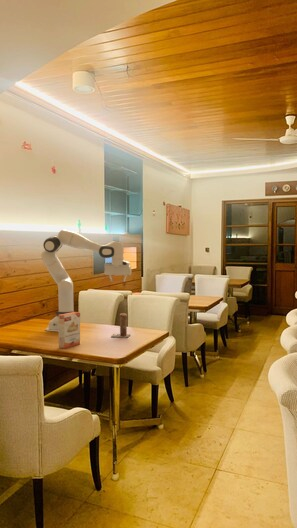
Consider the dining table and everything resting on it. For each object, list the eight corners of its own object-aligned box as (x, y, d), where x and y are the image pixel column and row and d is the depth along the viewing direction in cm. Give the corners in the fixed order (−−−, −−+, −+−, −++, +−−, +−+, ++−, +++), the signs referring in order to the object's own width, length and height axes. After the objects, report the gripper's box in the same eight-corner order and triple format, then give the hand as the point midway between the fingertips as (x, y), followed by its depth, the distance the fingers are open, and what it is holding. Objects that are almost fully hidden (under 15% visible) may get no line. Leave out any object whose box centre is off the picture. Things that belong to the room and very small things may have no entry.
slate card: (110, 337, 271) (110, 336, 271) (113, 334, 279) (113, 333, 279) (127, 338, 269) (127, 336, 269) (130, 335, 277) (130, 334, 277)
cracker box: (65, 349, 241) (64, 315, 240) (58, 347, 244) (57, 314, 243) (80, 344, 253) (80, 312, 252) (74, 342, 256) (73, 311, 255)
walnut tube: (119, 336, 271) (119, 314, 271) (120, 334, 276) (120, 313, 276) (125, 336, 271) (125, 314, 270) (127, 334, 275) (127, 313, 275)
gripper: (103, 262, 287) (103, 281, 288) (130, 262, 284) (130, 281, 285) (105, 262, 294) (105, 280, 294) (131, 262, 290) (132, 281, 291)
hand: (117, 281), depth 289 cm, fingers open, 8 cm apart
